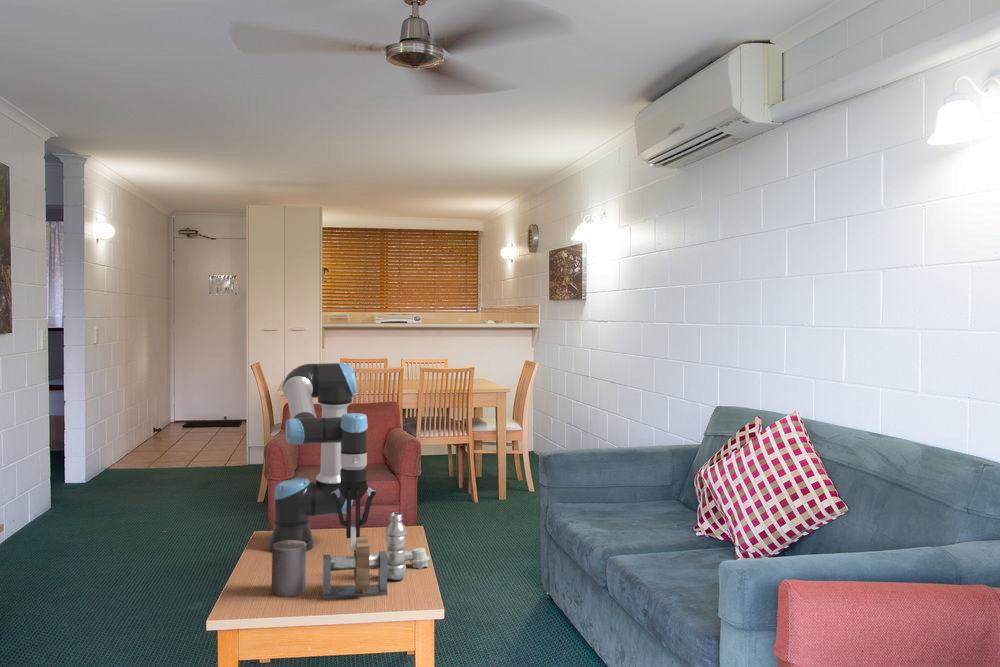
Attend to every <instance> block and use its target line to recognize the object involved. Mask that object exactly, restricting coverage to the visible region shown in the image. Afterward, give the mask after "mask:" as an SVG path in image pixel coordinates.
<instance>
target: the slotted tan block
mask: <svg viewBox="0 0 1000 667" xmlns="http://www.w3.org/2000/svg"><path fill="white" fill-rule="evenodd" d="M370 548H371V546H370V543H369V540H368V538H367V535H360V537H359V538H356V550H353V555H356V569H355V570H353V579H354V584H355V586H356V589H357V590H360V589H369V585H370V569H369V560H370V554H371V553H370V550H371V549H370Z"/></svg>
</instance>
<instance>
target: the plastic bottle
mask: <svg viewBox="0 0 1000 667" xmlns="http://www.w3.org/2000/svg"><path fill="white" fill-rule="evenodd" d="M389 521H390V522H389V523H388V525H387V526H386V528H385V539H386V540H385V541H386V553H387V580H391V581H398V580H399V581H400V580H403V579H404V578H405V577H406V574H407V565H406V561H405V554H404V552H405V551H406V550H405V549H406V548H405V547H406V539H407V532H408V531H407V528H406V526H405V524H404V523H403V513H402V512H391V513H390V514H389Z"/></svg>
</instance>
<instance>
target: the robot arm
mask: <svg viewBox="0 0 1000 667" xmlns="http://www.w3.org/2000/svg"><path fill="white" fill-rule="evenodd" d="M357 392H358V388H357V379H356V373H355V369H354V367H353V366H352V365H351V364H350V363H340V362H336V363H335V362H334V363H304V364H302V365H299V366H297V367H295V368H294V369H292V370H291V371H290V372H289V373H288V374H287V375H286V376H285V378H284V379H283V383H282V393H283V395H284V397H285V400H287V405H288V410H289V419H287V420H286V421H285V441H286V443H287V444H289V445H299V446H300V445H310V444H320V472H319V474H317V475H316V477H315V482H311V481H310V479H309V478H307V477H302V478H301V477H297V478H291V479H288V480H283V481H281V482H279V483H278V484H277V485H275V488H274V498H273V500H274V523H273V524H274V525H273V526H274V527H273V530H272V532H271V535H270V538H269V542H268V550H269V551H270V552H272V546H273V544H275V543H277V542H280V541H286V540H297V541H302V542H306V552H307V551H309V550H311V549H313V548H314V547H315V540H314V535H313V533H312V530H311V527H310V517H321V516H338V519H339V520H338V521H339V523H340V526H343V527H345V528H346V530H345V531H346V534H345V535H346V538H347V539H349V550H350V551H354V550H356V538H359V537H360V536H361V526H363V525H366V524H367V522H368V519H369V513H370V510H371V506H372V501H373V500H374V497H375V496H376V494H377V493H376V490H375V489H372V488H370V487H369V484H368V481H367V480H368V477H367V476H368V474H367V473H368V472H367V471H368V468H367V465H368V450H367V448H368V428H369V425H368V416H367V415H366V414H364V413H357V412H356V413H355V412H351V413H349V412H348V407H349V406H350V405H351V404H352V403H353V401H352V400H353V399H352V398H355V397H357V395H358V393H357ZM313 398H317V403H318V404H319V406H321V417H317V415H316V410H315V406H314V401H313ZM364 495H366V496H367V497H366V501H365V506H364V509H363V512H362V515H361V499H362V498H363V497H364ZM354 501H355V504H354V505H355V513H354V514H355V516H354V517H355V518H354V520H355V524H352V506H353V502H354ZM344 515H345V516H346V519H345V520H344ZM361 516H362V518H361Z"/></svg>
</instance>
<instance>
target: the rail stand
mask: <svg viewBox="0 0 1000 667" xmlns="http://www.w3.org/2000/svg"><path fill="white" fill-rule="evenodd" d="M378 553H379V554H377V553H370V560H369V570H370V569H378V573H377V574H378V577H377V578H378V579H377V580H378V582H377V584H369V589H360V590H357V589H356V585H348V586H336V587H331V586H332V585H331V578H332V576H331V574H332V573H331V572H338V571H351V570H353V571H354V570H355V569H356V555H354V554H352V555H351V554H349V555H336V556H335V555H334V556H331V554H322V599H323V601H325V600H326V601H327V600H339V599H352V598H354V599H355V598H364V597H366V598H367V597H378V596H388V579H387V554H386V553H387V550H383V551H382V550H381V551H380V550H379V551H378Z"/></svg>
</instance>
